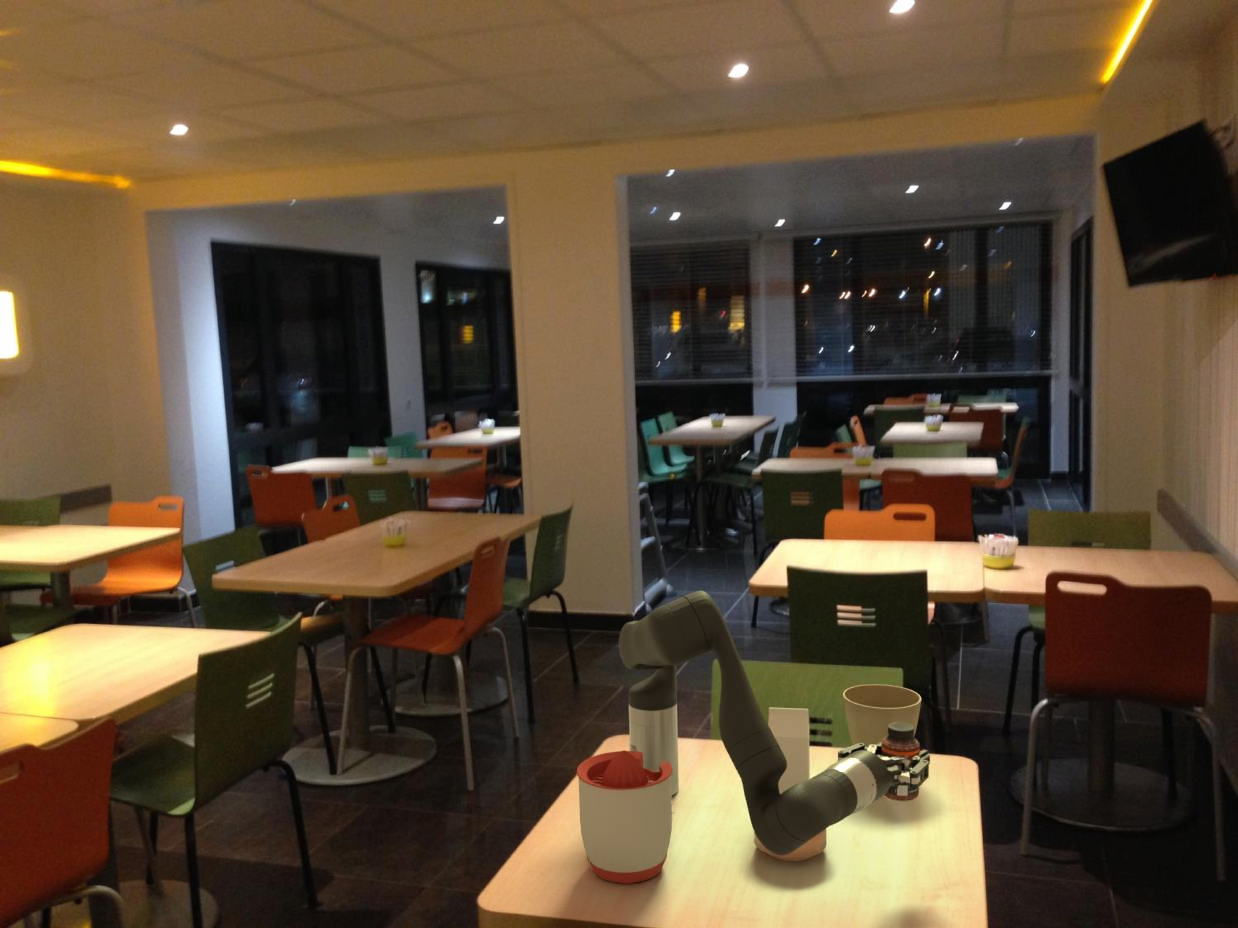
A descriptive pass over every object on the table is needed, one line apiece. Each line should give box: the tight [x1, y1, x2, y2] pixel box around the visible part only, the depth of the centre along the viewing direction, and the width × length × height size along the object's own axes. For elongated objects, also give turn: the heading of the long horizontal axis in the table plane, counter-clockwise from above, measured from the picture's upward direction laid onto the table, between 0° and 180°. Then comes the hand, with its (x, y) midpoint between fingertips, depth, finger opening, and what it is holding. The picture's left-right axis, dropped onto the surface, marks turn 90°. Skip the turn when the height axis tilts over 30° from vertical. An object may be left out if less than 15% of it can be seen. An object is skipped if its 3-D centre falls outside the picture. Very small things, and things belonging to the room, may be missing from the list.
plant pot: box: [842, 683, 922, 747], centre depth 211 cm, size 15×15×16 cm
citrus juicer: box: [576, 749, 673, 885], centre depth 176 cm, size 16×17×20 cm
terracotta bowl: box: [753, 828, 828, 862], centre depth 181 cm, size 12×12×6 cm
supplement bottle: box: [881, 722, 921, 802], centre depth 170 cm, size 6×6×11 cm
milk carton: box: [767, 707, 811, 794], centre depth 196 cm, size 7×7×19 cm
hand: (907, 750), depth 172 cm, fingers closed on supplement bottle, 6 cm apart
